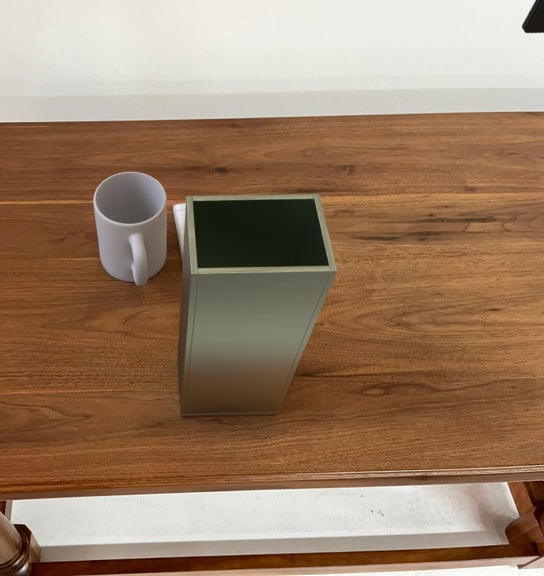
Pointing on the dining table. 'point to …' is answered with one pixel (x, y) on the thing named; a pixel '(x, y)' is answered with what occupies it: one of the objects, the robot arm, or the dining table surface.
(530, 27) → the robot arm
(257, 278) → the box
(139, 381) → the dining table surface
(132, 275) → the mug
